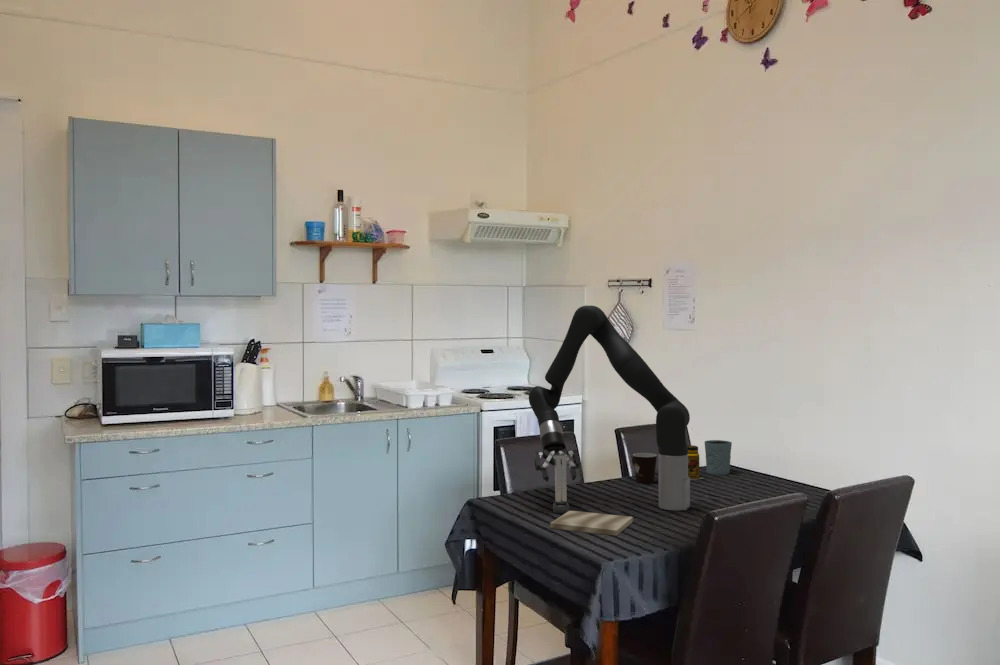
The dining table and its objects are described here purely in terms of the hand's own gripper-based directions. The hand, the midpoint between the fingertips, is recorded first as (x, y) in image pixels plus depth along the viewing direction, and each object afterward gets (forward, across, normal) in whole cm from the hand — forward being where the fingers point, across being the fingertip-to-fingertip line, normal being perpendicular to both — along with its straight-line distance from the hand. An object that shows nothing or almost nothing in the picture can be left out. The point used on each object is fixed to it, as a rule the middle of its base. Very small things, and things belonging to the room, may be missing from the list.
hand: (560, 479), depth 250 cm
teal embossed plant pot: (-25, +74, +40) cm, 88 cm away
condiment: (-21, +60, +36) cm, 73 cm away
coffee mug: (-19, +41, +34) cm, 56 cm away
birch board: (+19, +5, -5) cm, 21 cm away
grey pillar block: (+7, 0, +7) cm, 10 cm away
